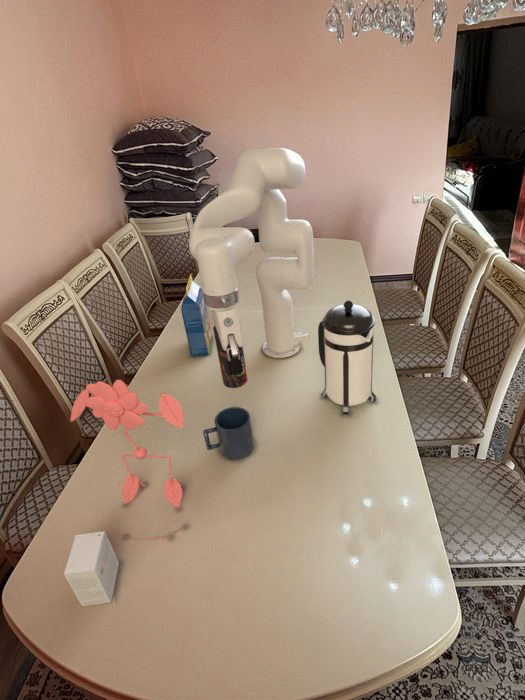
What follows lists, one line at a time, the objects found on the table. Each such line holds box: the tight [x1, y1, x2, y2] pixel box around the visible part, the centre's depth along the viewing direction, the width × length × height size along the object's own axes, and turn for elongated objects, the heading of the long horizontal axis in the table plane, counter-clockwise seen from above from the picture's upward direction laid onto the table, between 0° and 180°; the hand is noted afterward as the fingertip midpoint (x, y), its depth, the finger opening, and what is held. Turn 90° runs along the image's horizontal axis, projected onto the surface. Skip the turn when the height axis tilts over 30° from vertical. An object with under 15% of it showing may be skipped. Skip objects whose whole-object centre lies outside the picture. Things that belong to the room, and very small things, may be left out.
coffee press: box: [317, 300, 377, 416], centre depth 118 cm, size 17×16×30 cm
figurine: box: [70, 379, 186, 543], centre depth 90 cm, size 15×26×35 cm, turn 78°
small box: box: [63, 530, 120, 607], centre depth 83 cm, size 8×6×10 cm
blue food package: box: [180, 274, 213, 357], centre depth 151 cm, size 6×12×25 cm, turn 0°
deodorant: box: [212, 325, 248, 389], centre depth 105 cm, size 6×6×15 cm
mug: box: [202, 406, 255, 461], centre depth 111 cm, size 12×9×10 cm
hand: (232, 365), depth 107 cm, fingers closed on deodorant, 5 cm apart
